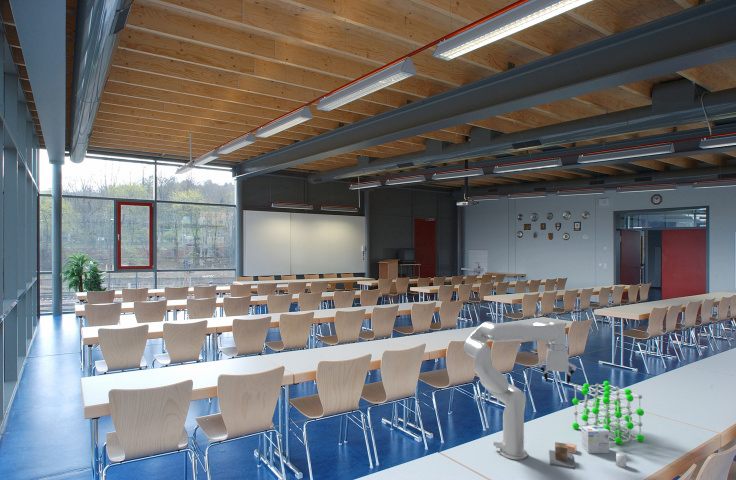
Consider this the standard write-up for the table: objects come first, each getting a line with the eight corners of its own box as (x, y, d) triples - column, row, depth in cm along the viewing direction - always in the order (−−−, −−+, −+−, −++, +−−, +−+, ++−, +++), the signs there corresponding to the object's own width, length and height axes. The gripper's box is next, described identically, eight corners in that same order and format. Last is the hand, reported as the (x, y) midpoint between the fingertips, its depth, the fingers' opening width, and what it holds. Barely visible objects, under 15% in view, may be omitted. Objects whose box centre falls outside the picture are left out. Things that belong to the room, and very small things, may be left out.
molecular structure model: (606, 448, 218) (606, 398, 218) (570, 428, 242) (570, 383, 242) (646, 442, 224) (645, 394, 225) (607, 423, 248) (606, 379, 249)
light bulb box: (602, 447, 219) (602, 425, 219) (610, 453, 212) (609, 430, 212) (580, 447, 218) (580, 425, 219) (588, 453, 212) (587, 431, 212)
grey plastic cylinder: (616, 467, 199) (616, 456, 199) (615, 463, 203) (615, 452, 203) (627, 468, 197) (627, 457, 197) (625, 464, 201) (625, 453, 201)
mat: (550, 464, 201) (550, 463, 201) (549, 451, 214) (549, 449, 214) (574, 468, 197) (574, 467, 197) (571, 455, 210) (571, 453, 210)
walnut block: (555, 459, 204) (555, 446, 204) (555, 454, 209) (554, 442, 209) (567, 461, 202) (567, 448, 202) (566, 456, 207) (566, 443, 207)
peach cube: (565, 451, 214) (565, 445, 214) (567, 448, 217) (567, 442, 217) (574, 454, 212) (574, 447, 212) (576, 450, 215) (576, 444, 215)
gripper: (538, 347, 218) (538, 382, 218) (577, 350, 212) (577, 386, 211) (538, 344, 225) (538, 378, 225) (575, 346, 219) (575, 381, 218)
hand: (557, 381), depth 218 cm, fingers open, 9 cm apart
